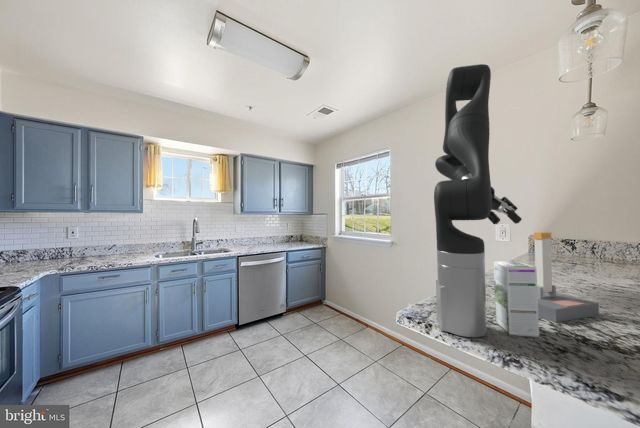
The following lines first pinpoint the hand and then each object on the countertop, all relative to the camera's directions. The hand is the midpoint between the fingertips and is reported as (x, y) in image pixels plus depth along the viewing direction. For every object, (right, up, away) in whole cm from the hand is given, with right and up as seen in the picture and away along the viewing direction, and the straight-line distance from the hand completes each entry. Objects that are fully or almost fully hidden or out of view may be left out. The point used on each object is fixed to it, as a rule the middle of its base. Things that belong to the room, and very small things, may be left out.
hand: (508, 222), depth 73 cm
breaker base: (+2, -23, -9) cm, 25 cm away
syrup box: (-15, -23, -21) cm, 34 cm away
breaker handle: (+2, -19, -9) cm, 21 cm away
